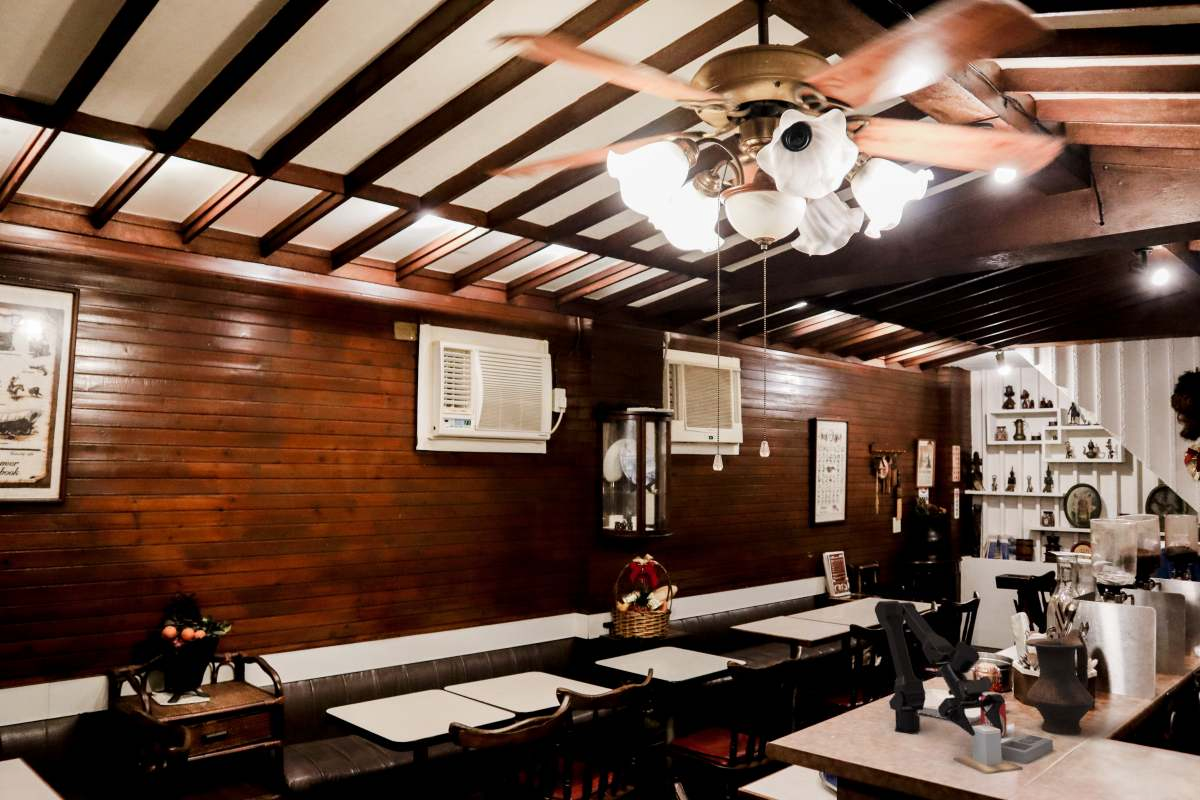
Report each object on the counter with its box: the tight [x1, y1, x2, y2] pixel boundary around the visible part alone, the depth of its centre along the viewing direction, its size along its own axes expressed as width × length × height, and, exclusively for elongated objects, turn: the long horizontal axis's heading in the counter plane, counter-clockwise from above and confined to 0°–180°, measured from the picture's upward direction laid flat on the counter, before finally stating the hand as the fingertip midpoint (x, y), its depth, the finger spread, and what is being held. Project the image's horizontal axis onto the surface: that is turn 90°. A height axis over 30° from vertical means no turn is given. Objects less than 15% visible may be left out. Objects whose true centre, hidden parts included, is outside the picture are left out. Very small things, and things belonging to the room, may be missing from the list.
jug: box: [1025, 628, 1096, 735], centre depth 262 cm, size 21×18×30 cm
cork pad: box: [953, 754, 1023, 775], centre depth 229 cm, size 12×12×1 cm
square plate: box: [918, 688, 1009, 724], centre depth 283 cm, size 27×27×4 cm
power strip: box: [1001, 733, 1054, 765], centre depth 239 cm, size 18×8×3 cm, turn 131°
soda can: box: [980, 691, 1008, 738], centre depth 257 cm, size 7×7×12 cm
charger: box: [971, 724, 1002, 766], centre depth 230 cm, size 5×5×9 cm
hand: (988, 733), depth 229 cm, fingers open, 9 cm apart
